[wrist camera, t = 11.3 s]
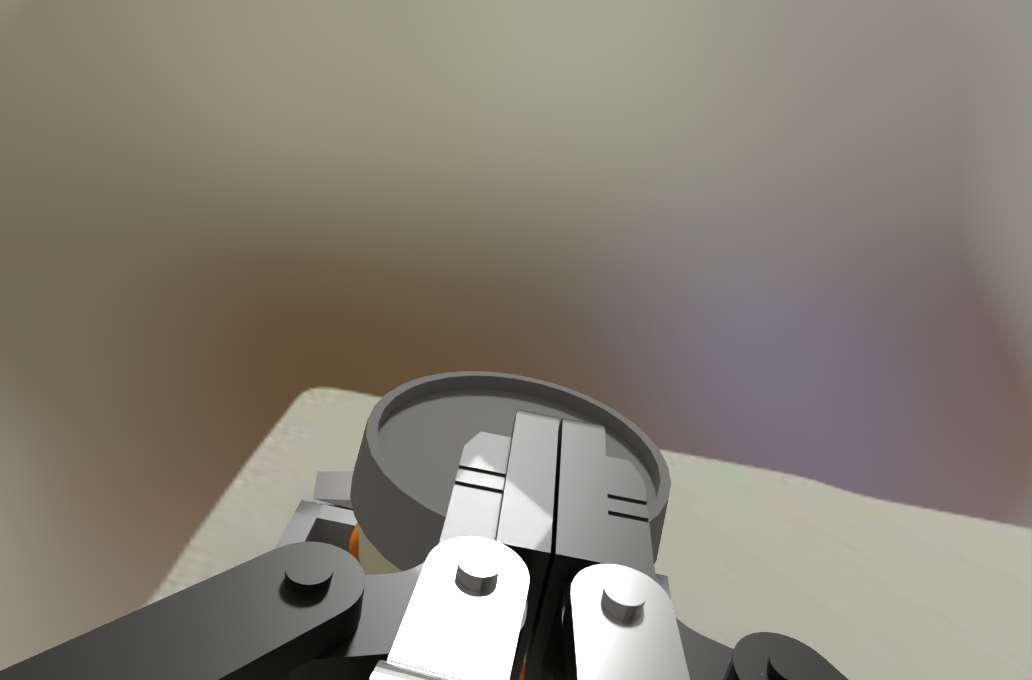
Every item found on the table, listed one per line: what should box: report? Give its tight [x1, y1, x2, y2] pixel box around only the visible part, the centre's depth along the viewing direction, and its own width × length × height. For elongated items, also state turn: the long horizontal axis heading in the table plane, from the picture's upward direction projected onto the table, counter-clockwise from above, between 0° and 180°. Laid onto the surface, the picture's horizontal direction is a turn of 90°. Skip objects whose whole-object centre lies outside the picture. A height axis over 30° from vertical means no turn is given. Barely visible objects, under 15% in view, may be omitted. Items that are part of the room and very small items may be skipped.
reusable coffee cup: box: [349, 371, 671, 680], centre depth 35 cm, size 13×13×15 cm
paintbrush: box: [314, 471, 354, 509], centre depth 51 cm, size 4×3×20 cm
